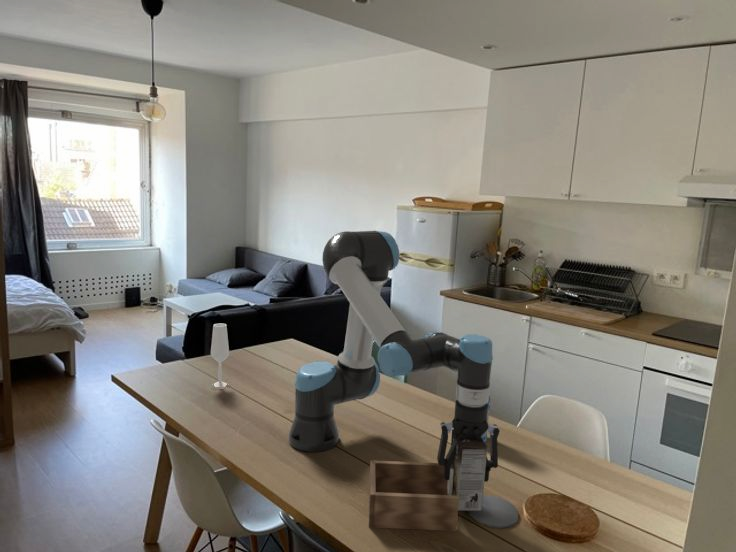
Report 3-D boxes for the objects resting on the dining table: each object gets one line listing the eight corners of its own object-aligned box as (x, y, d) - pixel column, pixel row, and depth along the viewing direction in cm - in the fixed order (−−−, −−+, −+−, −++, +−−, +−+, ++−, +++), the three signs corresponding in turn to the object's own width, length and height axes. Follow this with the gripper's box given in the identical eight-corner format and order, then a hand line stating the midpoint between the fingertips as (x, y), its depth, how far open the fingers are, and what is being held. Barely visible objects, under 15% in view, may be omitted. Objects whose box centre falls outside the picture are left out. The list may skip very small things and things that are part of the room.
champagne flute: (223, 381, 204) (223, 321, 200) (232, 386, 199) (232, 325, 195) (207, 385, 199) (207, 324, 195) (216, 390, 194) (216, 328, 190)
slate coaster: (472, 526, 121) (472, 523, 121) (463, 497, 133) (463, 494, 133) (524, 529, 121) (524, 526, 121) (510, 499, 133) (510, 496, 133)
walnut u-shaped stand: (368, 527, 119) (370, 495, 118) (369, 489, 135) (370, 460, 133) (456, 530, 119) (458, 498, 118) (446, 492, 135) (448, 463, 133)
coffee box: (446, 489, 131) (451, 428, 128) (472, 489, 131) (477, 428, 129) (455, 511, 122) (460, 446, 119) (482, 511, 122) (488, 446, 120)
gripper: (431, 406, 119) (425, 499, 122) (518, 410, 119) (509, 503, 122) (428, 393, 126) (422, 481, 130) (509, 397, 126) (501, 485, 130)
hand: (464, 491), depth 126 cm, fingers closed on coffee box, 7 cm apart
